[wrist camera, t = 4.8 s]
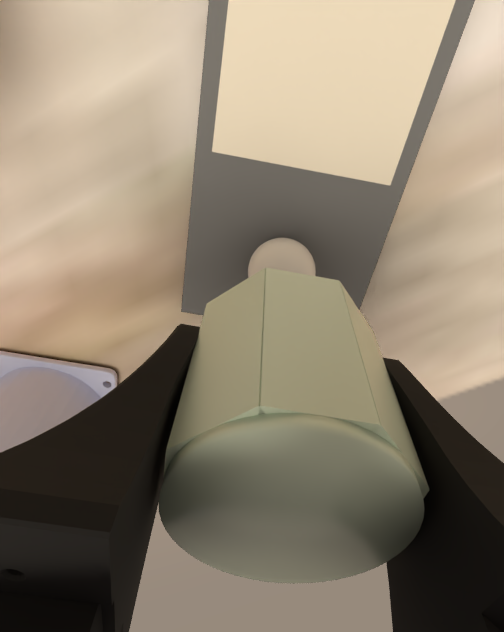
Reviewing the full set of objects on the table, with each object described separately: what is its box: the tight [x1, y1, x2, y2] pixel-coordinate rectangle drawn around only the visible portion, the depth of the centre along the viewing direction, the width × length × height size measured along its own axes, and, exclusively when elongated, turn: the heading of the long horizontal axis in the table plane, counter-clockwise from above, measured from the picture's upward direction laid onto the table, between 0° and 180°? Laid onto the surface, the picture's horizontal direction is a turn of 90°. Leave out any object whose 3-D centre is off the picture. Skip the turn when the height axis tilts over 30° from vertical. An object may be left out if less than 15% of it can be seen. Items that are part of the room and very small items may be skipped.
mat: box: [181, 0, 475, 315], centre depth 17 cm, size 16×9×1 cm, turn 170°
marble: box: [248, 238, 316, 278], centre depth 18 cm, size 3×3×3 cm
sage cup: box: [159, 268, 429, 584], centre depth 11 cm, size 5×5×6 cm
